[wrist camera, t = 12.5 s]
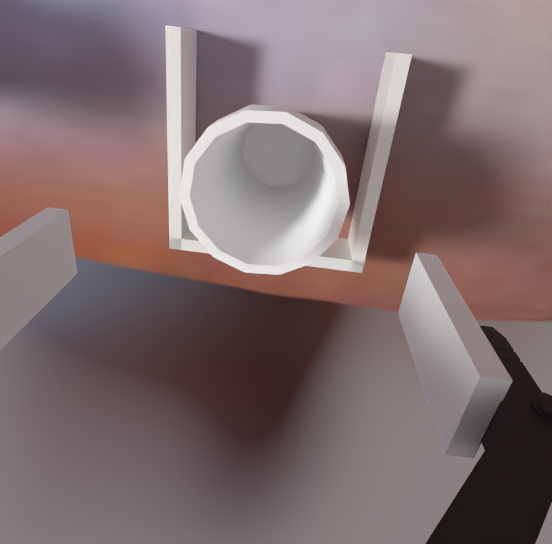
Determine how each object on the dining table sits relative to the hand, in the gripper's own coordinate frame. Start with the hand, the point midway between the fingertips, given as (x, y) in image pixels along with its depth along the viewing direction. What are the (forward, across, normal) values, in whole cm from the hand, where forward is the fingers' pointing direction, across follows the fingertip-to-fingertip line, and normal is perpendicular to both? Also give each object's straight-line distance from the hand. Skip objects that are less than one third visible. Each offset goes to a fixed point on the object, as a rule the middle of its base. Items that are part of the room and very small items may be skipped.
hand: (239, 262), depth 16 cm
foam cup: (+21, 0, 0) cm, 21 cm away
